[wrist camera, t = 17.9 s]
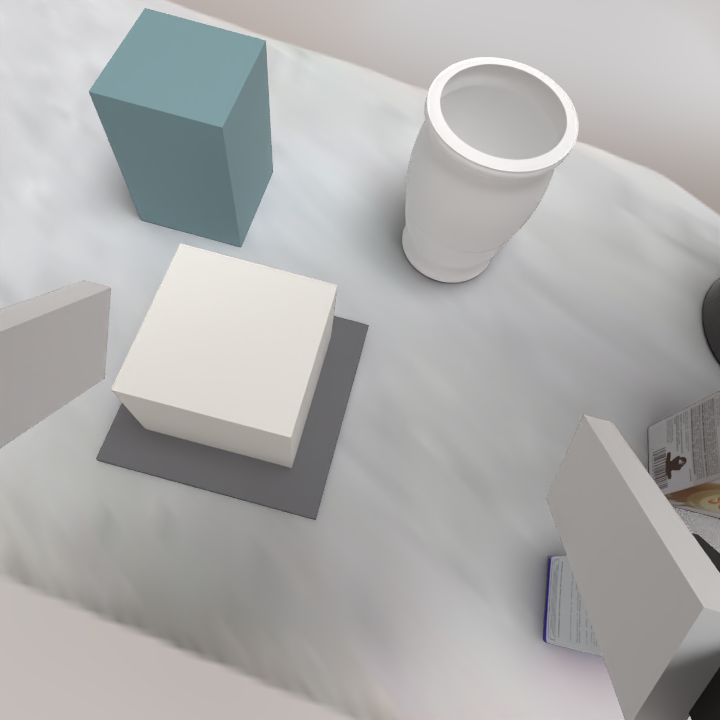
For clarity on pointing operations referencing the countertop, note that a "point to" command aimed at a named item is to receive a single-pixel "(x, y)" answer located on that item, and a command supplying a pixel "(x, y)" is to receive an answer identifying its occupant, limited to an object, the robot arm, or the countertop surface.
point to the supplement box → (566, 610)
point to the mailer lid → (229, 355)
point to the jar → (481, 163)
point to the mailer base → (189, 124)
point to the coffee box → (689, 457)
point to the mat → (243, 473)
